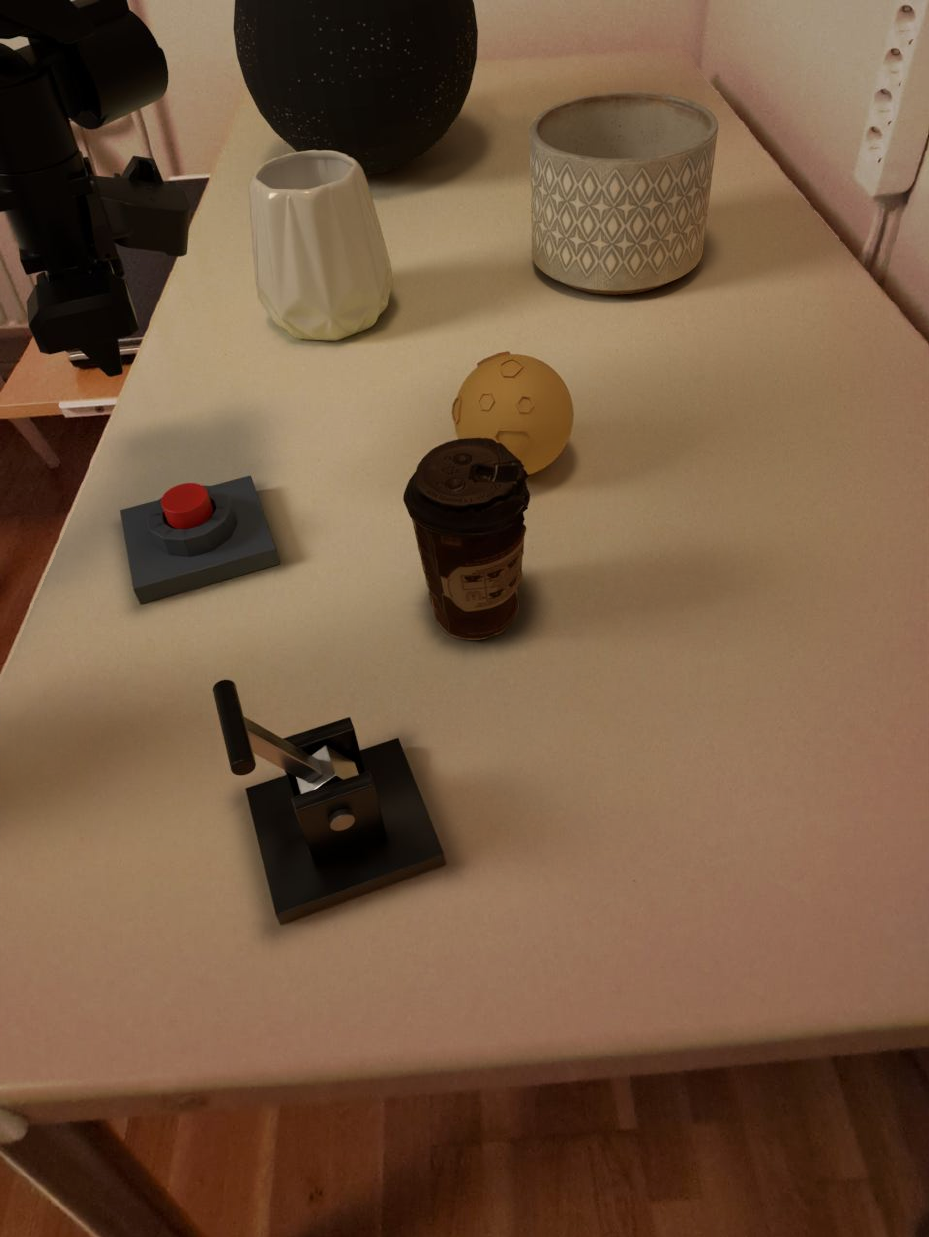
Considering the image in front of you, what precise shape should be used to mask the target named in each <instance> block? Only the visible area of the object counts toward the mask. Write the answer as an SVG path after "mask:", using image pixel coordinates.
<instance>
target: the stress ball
mask: <svg viewBox="0 0 929 1237" xmlns="http://www.w3.org/2000/svg"><path fill="white" fill-rule="evenodd" d="M476 365H477V366H476V368H474V369H473V370H472V371H471V372H470V373H469V374H468V375H467V377H466V378H465V380H464V381H463V382H462V384H461V386H460V388H459V390H458V392H457V394H456V397H455V398H454V400H453V402H452V408H451V418H452V420H453V424H454V432H455V435H456V437H457V438H456V439H465V438H490V439H493V440H494V441H496V442H497V443H501V444H502V445H504V446H505V447H506V448H507V449H508V451H510V452H511V453H512V454H513V455H514V456H515V457H516V458H518V459H519V460H520V461H521V463H522V464H523V465H524V469H525V470H526V472H527V474H528V476H529V475H532V474H535V473H537V472H540V471H542V470H543V469H544V468H546V467H548V466H549V465H550V464H552V463H553V462H554V461H555V460H556V459H557V458H558V457H559V456H560V454H561V453H562V452H563V451H564V448H566V446H567V443H568V441H569V439H570V436H571V434H572V430H573V425H574V405H573V400H572V396H571V393H570V390H569V387H568V386H567V385H566V382H565V381H564V379H563V378H562V376H560V374H559V373H558V372H557V371H556V370H555V369H554V368H552V367H551V366H550V365H549V364H547V363H546V362H544V361H542V360H541V359H538V358H536V357H533V356H530V355H526V354H519V353H511V352H510V351H509V350H507V351H503V352H498V353H495V354H493V355H491V356H488V357H485V358H482V360H479V361H478V362H477V363H476Z"/></svg>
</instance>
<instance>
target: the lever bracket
mask: <svg viewBox="0 0 929 1237" xmlns="http://www.w3.org/2000/svg"><path fill="white" fill-rule="evenodd" d="M282 739H284V740H286V741H287V742H289V743H291V744H293V745H294V746H296V747H298V748H299V749H301V750H303V751H304V752H306V753H308V754H310V755H313V754H314V753H316V752H317V751H318V750H320V749H321V748H322V747H324V746H325V745H327V746H328V747H330V748H332V749H333V750H335V751H336V752H338V753H340V754H341V755H343V756H345V757H346V758H348V759H350V760H351V761H353V762H354V763H355V765H356V768H357V771H358V774H359V775H356V776H353V777H350V778H347V779H344V780H341V781H338V782H335V783H332V784H329V785H326V786H323V787H320V788H317V789H314V790H311V791H308V792H305V793H302V794H301V793H300V789H299V786H298V782H297V779H296V776H295V775H293V774H291V773H289V772H287V771H285V770H284V771H285V775H282V776H278V777H276V778H273V779H270V780H266V781H264V782H260V783H258V784H255V785H252V786H248V787H245V788H244V789H245V794H246V797H247V802H248V806H249V810H250V814H251V819H252V823H253V827H254V831H255V835H256V839H257V843H258V848H259V851H260V855H261V856H260V857H261V861H262V864H263V869H264V872H265V873H264V874H265V877H266V881H267V885H268V890H269V893H270V898H271V902H272V905H273V910H274V914H275V917H276V919H277V922H278V923H279V926H280V925H283V924H287V923H289V922H291V921H292V922H293V921H295V920H297V919H300V918H302V917H305V916H309V915H310V914H314V913H316V912H319V911H322V910H325V909H327V908H330V907H333V906H335V905H339V904H341V903H344V902H347V901H350V900H352V899H355V898H357V897H360V896H363V895H367V894H369V893H371V892H374V891H377V890H381V889H383V888H385V887H389V886H390V885H393V884H396V883H399V882H402V881H405V880H407V879H410V878H413V877H415V876H418V875H421V874H423V873H424V874H425V873H427V872H429V871H432V870H436V869H437V868H441V867H443V866H446V864H447V862H446V856H445V855H446V854H445V853H444V850H443V846H442V845H441V842H440V839H439V838H438V835H437V832H436V830H435V827H434V825H433V821H432V819H431V817H430V814H429V812H428V809H427V806H426V804H425V802H424V798H423V797H422V794H421V792H420V789H419V786H418V783H417V781H416V779H415V776H414V774H413V772H412V769H411V766H410V764H409V761H408V759H407V755H406V754H405V751H404V748H403V746H402V743H401V740H400V738H399V737H396V738H393V739H390V740H387V741H384V742H381V743H378V744H375V745H372V746H369V747H366V748H363V749H360V745H359V741H358V737H357V733H356V728H355V726H354V723H353V721H352V718H351V716H348V717H345V718H342V719H338V720H335V721H333V722H329V723H326V724H323V725H320V726H317V727H314V728H310V729H307V730H305V731H302V732H298V733H295V734H291V735H289V736H286V737H282Z"/></svg>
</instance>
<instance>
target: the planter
mask: <svg viewBox="0 0 929 1237" xmlns="http://www.w3.org/2000/svg"><path fill="white" fill-rule="evenodd" d="M718 132H719V121H718V117H717V116H716V115H715V114H714V113H713V112H712V111H711V110H710V109H708V108H707V107H705V106H704V105H702V104H701V103H698V102H696V101H693V100H690V99H687V98H683V97H680V96H677V95H676V96H675V95H671V94H665V93H655V92H644V91H643V92H641V91H618V92H617V91H616V92H605V93H596V94H591V95H584V96H580V97H576V98H572V99H568V100H565V101H563V102H559V103H557V104H555V105H552V106H550V107H548V108H546V109H545V110H543V111H542V112H540V113H539V114H538V115H537V116H535V118H534V119H533V121H532V122H531V124H530V127H529V148H530V149H529V150H530V157H529V158H530V159H529V160H530V230H531V233H530V235H531V236H530V237H531V241H530V242H531V257H532V261H533V263H534V264H535V265H536V267H537V268H538V269H539V270H540V271H541V272H543V273H544V274H545V275H546V276H548V277H550V278H552V279H553V280H555V281H558V282H560V283H562V284H564V285H566V286H568V287H571V288H573V289H575V290H579V291H581V292H586V293H591V294H599V295H611V296H612V295H613V296H614V295H615V296H616V295H630V294H631V295H632V294H638V293H645V292H647V291H651V290H654V289H657V288H660V287H663V286H664V285H666V284H668V283H671V282H673V281H675V280H678V279H680V278H682V277H683V276H685V275H687V274H688V273H690V272H691V271H692V270H693V269H694V268H696V267H697V265H698V264H699V262H701V258H702V256H703V253H704V245H705V237H706V229H707V222H708V221H707V220H708V214H709V204H710V196H711V190H712V180H713V173H714V165H715V156H716V150H717V149H716V147H717V140H718Z"/></svg>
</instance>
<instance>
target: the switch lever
mask: <svg viewBox="0 0 929 1237" xmlns="http://www.w3.org/2000/svg"><path fill="white" fill-rule="evenodd" d="M212 694H213V699H214V703H215V707H216V711H217V715H218V720H219V725H220V728H221V729H220V730H221V733H222V737H223V741H224V742H223V743H224V745H225V750H226V754H227V759H228V764H229V767H230V771H231V773H232V774H233V775H235V776H239V777H240V776H241V777H242V776H247V775H249V774H251V773H252V772H254V771H255V769H256V768H257V763H256V758H255V755H257V756H258V757H259V758H262V759H263V760H265V761H267V762H269V763H271V764H273V765H275V766H276V767H278V768H280V769H282V770H284V771H287V772H289V773H291V774H293V775H295V776H296V779H297V782H298V786H299V789H300V793H301V794H302V793H305V792H308V791H311V790H314V789H317V788H320V787H323V786H326V785H329V784H332V783H335V782H338V781H341V780H344V779H347V778H350V777H353V776H356V775H359V774H358V771H357V768H356V765H355V763H354V762H353V761H351V760H350V759H348V758H346V757H345V756H343V755H341V754H340V753H338V752H336V751H335V750H333V749H332V748H330V747H328V746H327V745H325V746H324V747H322V748H321V749H320V750H318V751H317V752H316V753H314V754H313V755H310V754H308V753H306V752H304V751H303V750H301V749H299V748H298V747H296V746H294V745H293V744H291V743H289V742H287V741H286V740H284V739H283V737H280V736H279V735H277V734H275V733H274V732H272V731H271V730H268V729H267V728H265V727H264V726H262V725H260V724H259V723H256V722H255V721H254V720H252V719H250V718H248V717H246V716H245V714H244V712H243V708H242V707H243V706H242V704H241V701H240V696H239V692H238V688H237V684H236V683H235V682H234V681H233V680H231V679H221V680H219V681H217V682H216V683H215V684H214V685H213V687H212Z"/></svg>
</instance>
